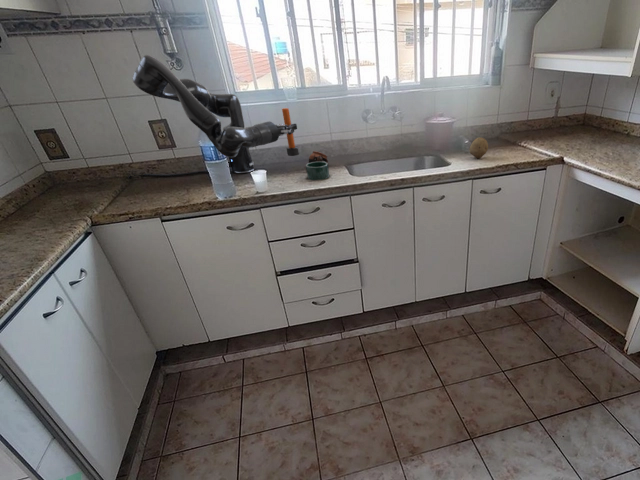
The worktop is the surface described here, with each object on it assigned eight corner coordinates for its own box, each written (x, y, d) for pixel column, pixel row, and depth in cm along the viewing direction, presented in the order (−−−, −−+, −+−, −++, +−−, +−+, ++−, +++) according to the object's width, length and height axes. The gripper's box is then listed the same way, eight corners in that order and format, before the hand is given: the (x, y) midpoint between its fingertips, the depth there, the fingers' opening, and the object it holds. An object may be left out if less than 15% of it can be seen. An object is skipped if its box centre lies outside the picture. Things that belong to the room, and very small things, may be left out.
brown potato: (488, 160, 189) (490, 139, 183) (470, 161, 189) (472, 139, 184) (485, 156, 197) (487, 135, 191) (468, 156, 197) (469, 135, 191)
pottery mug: (304, 167, 191) (309, 150, 190) (323, 173, 195) (327, 157, 194) (309, 166, 180) (314, 148, 179) (328, 173, 185) (333, 156, 183)
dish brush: (285, 156, 164) (277, 109, 154) (290, 153, 168) (281, 107, 158) (296, 156, 164) (288, 109, 153) (300, 153, 167) (292, 107, 157)
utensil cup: (304, 179, 172) (302, 167, 168) (311, 173, 180) (309, 161, 176) (325, 180, 170) (324, 167, 167) (332, 173, 178) (330, 161, 175)
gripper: (252, 142, 154) (282, 134, 167) (279, 145, 149) (307, 136, 161) (248, 122, 150) (279, 115, 163) (275, 124, 144) (304, 117, 157)
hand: (293, 126), depth 162 cm, fingers closed on dish brush, 2 cm apart
